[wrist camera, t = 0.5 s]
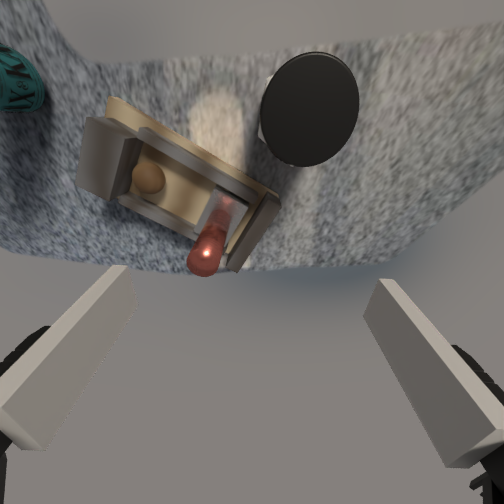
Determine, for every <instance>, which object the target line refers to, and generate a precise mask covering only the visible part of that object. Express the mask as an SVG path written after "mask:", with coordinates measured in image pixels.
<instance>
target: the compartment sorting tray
mask: <svg viewBox="0 0 504 504" xmlns="http://www.w3.org/2000/svg"><path fill="white" fill-rule="evenodd" d="M142 162H151V163H154V164H156V165H158V166H159V167H160V168H161V169H162V170H163V172H164V174H165V178H166V183H165V186H164V188H163V189H162V190H161V191H160V192H158V193H156V194H146V193H143V192H141V191H140V190H138V189H137V188H136V186H135V185H134V183H133V181H132V171H133V169H134V168H135V166H136V165H138V164H139V163H142ZM217 184H219V185H220V186H222V187H224V188H226V189H227V190H229V191H231V192H233V193H234V194H236V195H238V196H240V197H241V198H243V199H245V200H247V201H248V202H249V207H248V209H247V211H246V213H245V214H244V216H243V218H242V219H241V221H240V223H239V224H238V226H237V228H236V229H235V231H234V233H233V234H232V236H231V238H230V239H229V241H228V243H227V244H226V246H225V247H224V249H223V252H222V255H224V253H225V252H226V253H228V258H227V263H226V268H228V269H230V270H232V271H234V272H236V273H238V271H239V270H240V268H241V267H242V265H243V264H244V262H245V261H246V259H247V258H248V256H249V255H250V253H251V252H252V250H253V249H254V248H255V246H256V245H257V243H258V242H259V240H260V239H261V237H262V236H263V234H264V233H265V231H266V230H267V228H268V227H269V225H270V224H271V222H272V221H273V219H274V218H275V216H276V215H277V213H278V212H279V210H280V209H281V207H282V206H281V203H280V199H279V196H278V194H277V193H275V192H274V191H272V190H270V189H269V188H267V187H265V186H264V185H262V184H260V183H259V182H257V181H255V180H254V179H252V178H251V177H249V176H247V175H246V174H244V173H242V172H241V171H239V170H237V169H236V168H234V167H232V166H231V165H229V164H227V163H226V162H224V161H222V160H221V159H219V158H217V157H216V156H214V155H212V154H211V153H209V152H207V151H206V150H204V149H202V148H201V147H199V146H197V145H196V144H194V143H193V142H191V141H189V140H188V139H186V138H184V137H183V136H181V135H179V134H178V133H176V132H174V131H173V130H171V129H169V128H168V127H166V126H164V125H163V124H161V123H159V122H158V121H156V120H154V119H153V118H151V117H149V116H148V115H146V114H144V113H143V112H141V111H140V110H138V109H136V108H135V107H133V106H131V105H130V104H128V103H126V102H125V101H123V100H121V99H120V98H118V97H112V96H109V97H108V102H107V107H106V112H105V117H104V118H102V117H86V122H85V128H84V134H83V140H82V146H81V151H80V157H79V163H78V169H77V175H76V181H75V185H76V186H78V187H80V188H82V189H84V190H86V191H89V192H91V193H93V194H95V195H97V196H99V197H101V198H103V199H105V200H107V201H111V200H113V199H114V198H117V199H119V201H118V203H119V204H121V205H123V206H125V207H127V208H129V209H131V210H133V211H135V212H137V213H139V214H141V215H143V216H145V217H147V218H149V219H151V220H153V221H155V222H157V223H159V224H161V225H163V226H165V227H167V228H169V229H172V230H174V231H176V232H178V233H180V234H182V235H184V236H186V237H188V238H190V239H192V240H194V241H196V240H197V238H198V236H199V234H197V233H195V232H193V231H194V229H195V226H196V224H197V222H198V220H199V218H200V216H201V214H202V212H203V210H204V208H205V206H206V204H207V202H208V200H209V198H210V196H211V194H212V192H213V190H214V188H215V186H216V185H217Z"/></svg>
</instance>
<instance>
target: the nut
mask: <svg viewBox="0 0 504 504" xmlns="http://www.w3.org/2000/svg"><path fill="white" fill-rule="evenodd" d="M132 181H133V183H134V185H135V186H136V188H137V189H138V190H140V191H141V192H143V193H146V194H156V193H158V192H160V191H161V190H162V189H163V188H164V186H165V183H166V178H165V174H164V172H163V170H162V169H161V168H160V167H159V166H158V165H156V164H154V163H151V162H142V163H139V164H138V165H136V166H135V168H134V169H133V171H132Z"/></svg>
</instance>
